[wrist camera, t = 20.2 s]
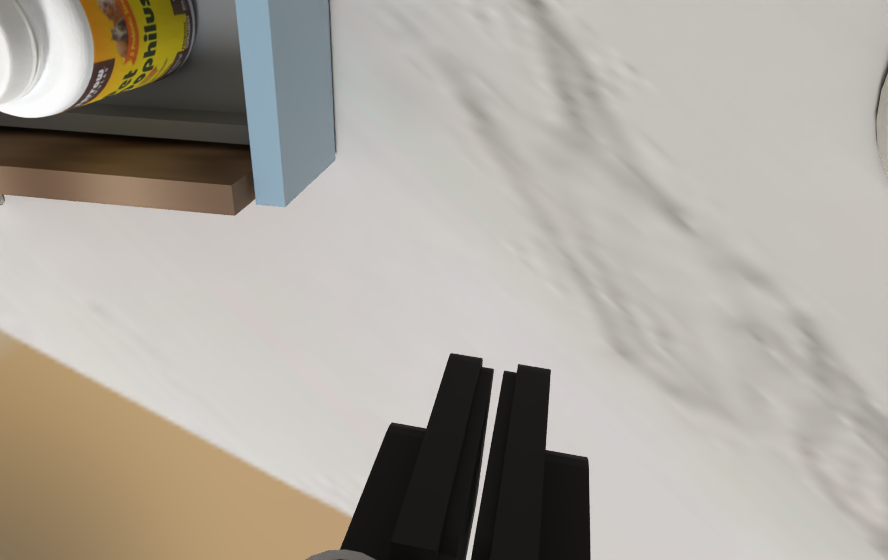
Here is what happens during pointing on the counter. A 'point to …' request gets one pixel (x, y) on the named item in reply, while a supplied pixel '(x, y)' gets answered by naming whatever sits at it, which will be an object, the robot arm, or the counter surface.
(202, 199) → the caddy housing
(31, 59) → the supplement bottle
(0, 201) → the coffee box
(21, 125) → the tray
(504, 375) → the robot arm
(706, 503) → the counter surface
